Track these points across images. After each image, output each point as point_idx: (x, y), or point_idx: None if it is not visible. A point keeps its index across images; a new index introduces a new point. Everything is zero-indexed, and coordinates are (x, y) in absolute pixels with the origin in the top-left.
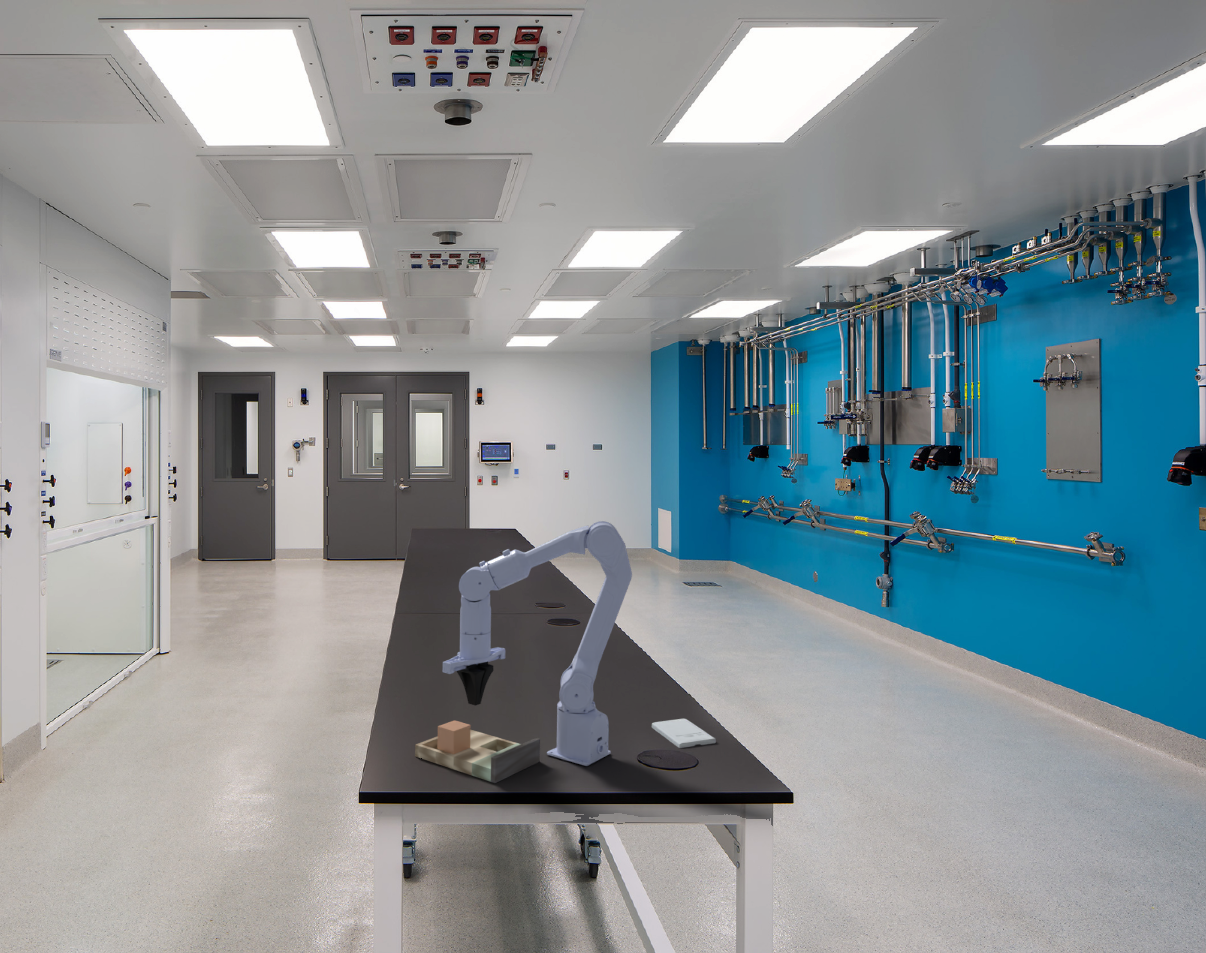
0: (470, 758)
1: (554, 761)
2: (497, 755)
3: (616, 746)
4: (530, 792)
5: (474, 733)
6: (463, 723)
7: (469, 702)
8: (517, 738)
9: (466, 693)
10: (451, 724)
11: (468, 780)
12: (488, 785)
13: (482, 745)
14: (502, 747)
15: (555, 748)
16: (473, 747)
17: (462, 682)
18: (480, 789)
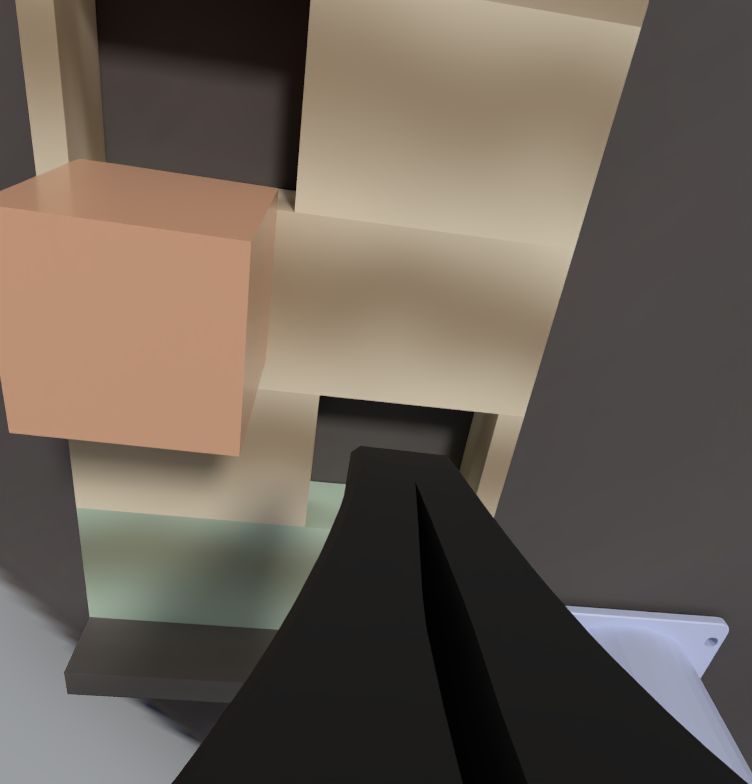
0: (121, 465)
1: None
2: (111, 681)
3: (735, 739)
4: (148, 709)
5: (539, 205)
6: (228, 384)
7: (347, 482)
8: (730, 366)
9: (330, 534)
10: (126, 299)
11: (49, 480)
12: (78, 575)
13: (353, 397)
14: (478, 433)
15: (594, 621)
16: (281, 375)
17: (247, 683)
18: (20, 571)
